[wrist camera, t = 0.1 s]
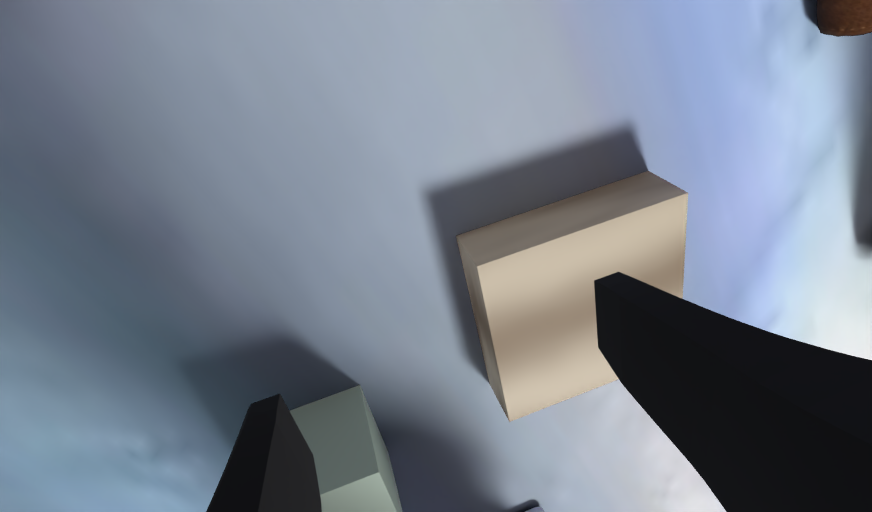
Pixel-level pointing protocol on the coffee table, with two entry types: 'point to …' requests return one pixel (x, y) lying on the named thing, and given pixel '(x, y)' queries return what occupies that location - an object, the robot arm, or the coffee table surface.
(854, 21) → the sunglasses case
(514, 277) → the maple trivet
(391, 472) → the sage cube
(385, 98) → the coffee table surface
